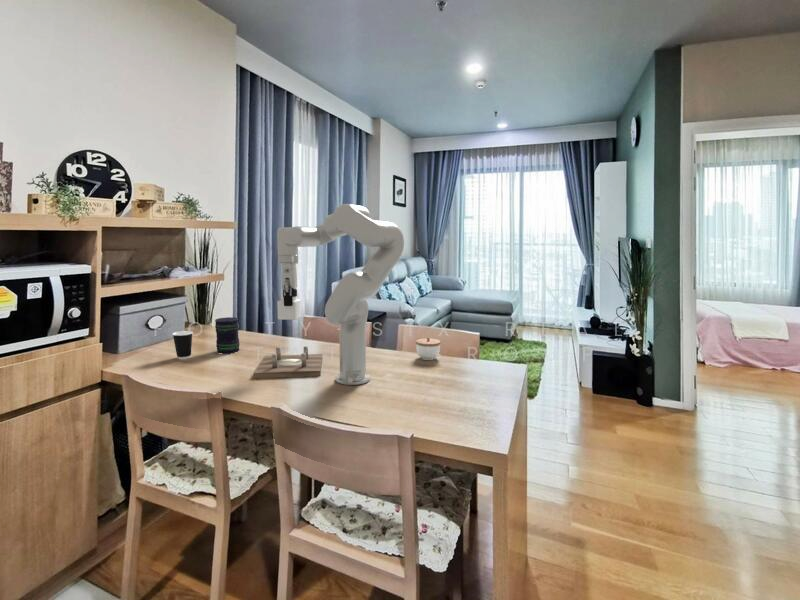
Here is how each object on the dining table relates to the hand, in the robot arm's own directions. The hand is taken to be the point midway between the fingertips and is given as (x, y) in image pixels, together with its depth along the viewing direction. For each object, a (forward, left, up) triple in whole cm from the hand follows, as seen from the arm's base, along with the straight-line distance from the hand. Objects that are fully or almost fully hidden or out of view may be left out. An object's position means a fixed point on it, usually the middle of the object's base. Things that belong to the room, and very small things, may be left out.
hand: (289, 304), depth 165 cm
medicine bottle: (0, 0, -6) cm, 6 cm away
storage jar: (+29, +31, -26) cm, 50 cm away
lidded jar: (+7, -57, -26) cm, 63 cm away
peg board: (0, 0, -26) cm, 26 cm away
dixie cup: (+20, +47, -26) cm, 57 cm away
